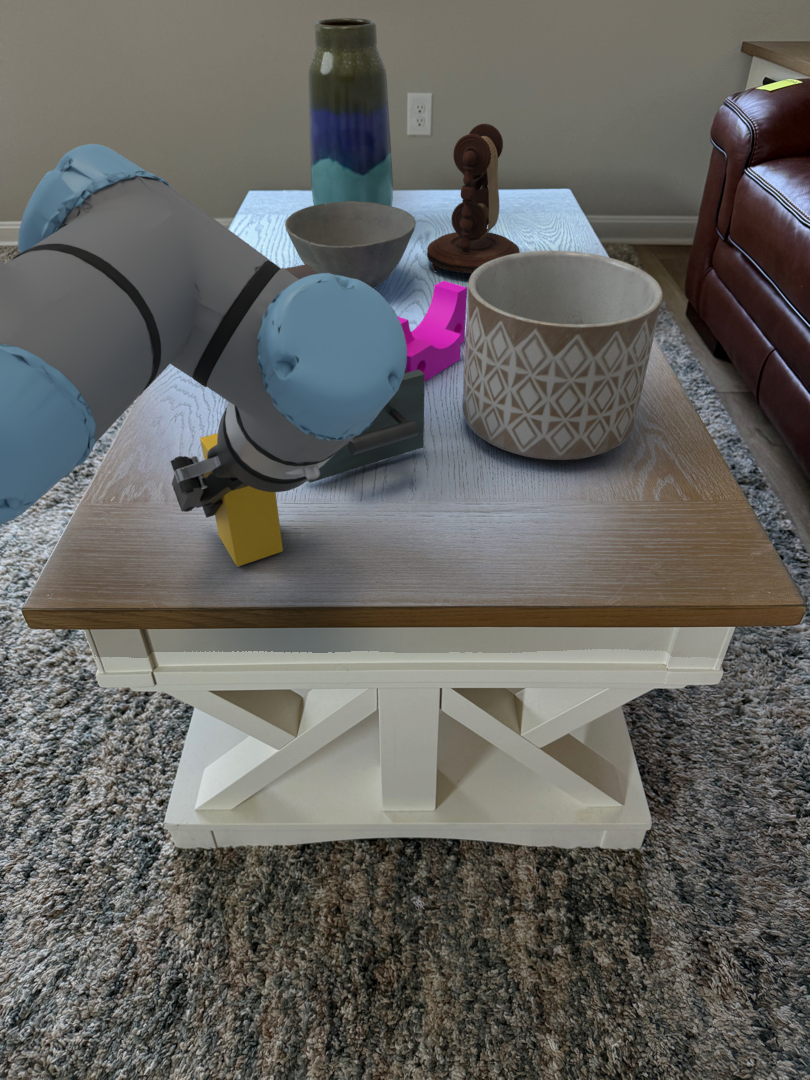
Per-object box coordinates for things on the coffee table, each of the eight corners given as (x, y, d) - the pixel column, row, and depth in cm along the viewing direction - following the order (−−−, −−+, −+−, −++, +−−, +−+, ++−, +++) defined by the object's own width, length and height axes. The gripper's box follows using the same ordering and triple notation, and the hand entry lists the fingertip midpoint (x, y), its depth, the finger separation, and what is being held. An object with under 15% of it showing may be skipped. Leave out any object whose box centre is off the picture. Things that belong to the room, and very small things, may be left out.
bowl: (270, 304, 115) (262, 235, 109) (320, 259, 129) (315, 195, 122) (391, 321, 111) (390, 250, 104) (429, 272, 124) (430, 207, 118)
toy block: (410, 390, 96) (411, 333, 91) (371, 375, 99) (369, 319, 94) (479, 346, 105) (483, 292, 100) (442, 333, 108) (443, 280, 103)
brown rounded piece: (505, 288, 120) (516, 145, 107) (414, 275, 124) (414, 136, 111) (527, 254, 130) (541, 121, 117) (443, 244, 134) (447, 113, 121)
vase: (302, 241, 135) (284, 26, 115) (331, 216, 145) (319, 14, 125) (379, 250, 132) (374, 30, 112) (403, 223, 142) (402, 17, 122)
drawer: (444, 468, 82) (447, 393, 76) (327, 506, 77) (321, 429, 71) (359, 385, 95) (356, 316, 89) (255, 413, 90) (244, 342, 84)
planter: (666, 451, 85) (703, 307, 75) (507, 488, 80) (522, 339, 70) (576, 372, 99) (597, 241, 89) (435, 399, 94) (439, 263, 84)
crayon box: (236, 567, 71) (218, 466, 64) (218, 536, 74) (199, 437, 67) (283, 551, 72) (270, 452, 65) (263, 521, 76) (249, 424, 69)
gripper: (170, 519, 49) (152, 562, 70) (415, 444, 55) (330, 504, 77) (130, 406, 49) (124, 483, 71) (379, 345, 55) (304, 433, 77)
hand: (232, 494), depth 74 cm, fingers closed on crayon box, 4 cm apart
